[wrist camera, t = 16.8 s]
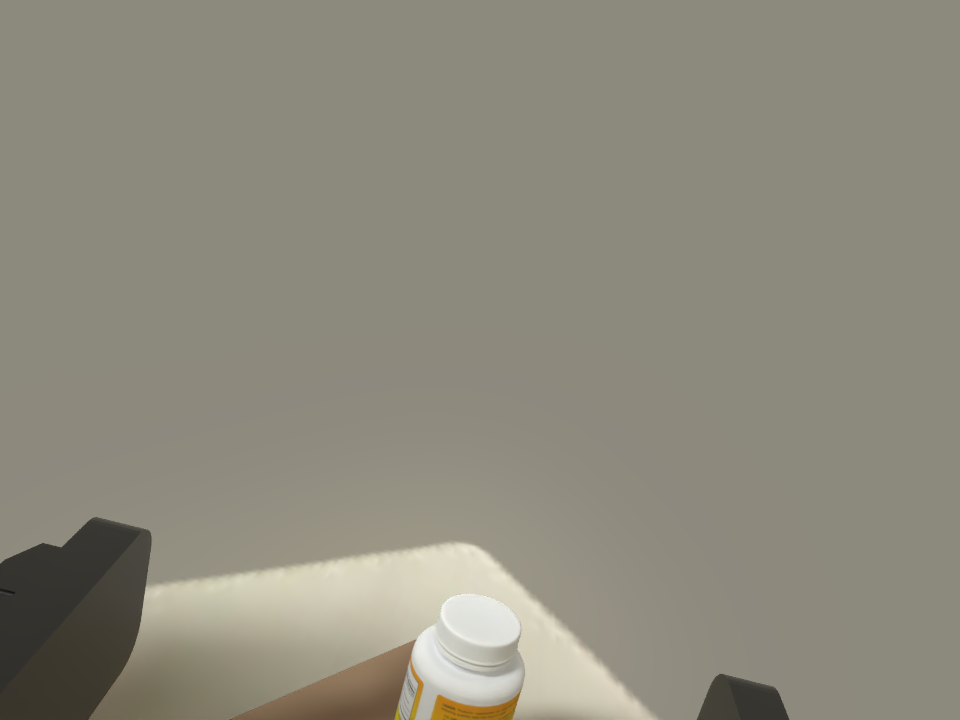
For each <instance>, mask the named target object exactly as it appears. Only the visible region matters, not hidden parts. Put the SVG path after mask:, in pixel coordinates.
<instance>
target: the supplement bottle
mask: <svg viewBox="0 0 960 720" xmlns="http://www.w3.org/2000/svg"><path fill="white" fill-rule="evenodd" d="M520 635H521V623H520V621H519V619H518V617H517V616H516V614H515V613H514V612H513V611H512V610H511V609H510V608H508V607H507V606H506V605H504V604H503V603H501V602H499V601H497V600H495V599H493V598H490V597H487V596H483V595H478V594H460V595H456V596H453V597H451V598H449V599H448V600H447V601H446V602H445V603H444V604H443V606H442V608H441V611H440V614H439V617H438V620H437V622H436V624H435V625H432V626H430V627H429V628H427V629H426V630H425V631H423V632H422V633H421V634H420V635H419V637H418V638H417V640H416V642H415V644H414V647H413V650H412V653H411V658H410V661H409V665H408V668H407V673H406V677H405V681H404V684H403V688H402V692H401V696H400V700H399V704H398V708H397V712H396V716H395V720H512V718H513V715H514V712H515V708H516V705H517V702H518V699H519V695H520V692H521V689H522V686H523V682H524V677H525V667H524V663H523V659H522V657H521V655H520V653H519V652H518V650H517V648H518V642H519V638H520Z"/></svg>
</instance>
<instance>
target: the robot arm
mask: <svg viewBox="0 0 960 720" xmlns="http://www.w3.org/2000/svg"><path fill="white" fill-rule="evenodd" d="M150 551H151V533H150V531H149V530H146V529H142V528H138V527H134V526H130V525H126V524H122V523H118V522H114V521H110V520H106V519H101V518H98V517H95V518H92V519H91V520H89V521H88V522H87V523H86V524H85V525H84V526H83V527H82V528H81V529H80V530H79V531H78V532H77V533H76V534H75V535H74V536H73V537H72V538H71V539H70V540H69V541H68V542H67V543H66V544H65V545H64V546H63V547H62V548H61V547H57V546H52V545H49V544H44V543H42V544H40V545H38V546H35V547H33V548H31V549H28V550H26V551H24V552H21V553H19V554H17V555H15V556H12V557H10V558H8V559H5V560H4V561H3V562H2V563H1V564H0V720H88V719H89V717H90V716H91V714H92V713H93V712H94V710H95V709H96V707H97V706H98V704H99V703H100V702H101V700H102V699H103V697H104V696H105V695H106V693H107V692H108V690H109V689H110V687H111V686H112V685H113V683H114V682H115V680H116V679H117V677H118V676H119V675H120V673H121V672H122V670H123V669H124V667H125V665H126V663H127V661H128V659H129V657H130V655H131V652H132V650H133V647H134V645H135V642H136V639H137V635H138V632H139V627H140V622H141V615H142V608H143V601H144V594H145V587H146V579H147V572H148V565H149V557H150ZM697 720H789V718H788V715H787V713H786V710H785V708H784V705H783V703H782V700H781V697H780V695H779V693H778V691H777V690H776V689H775V688H774V687H772V686H768V685H764V684H760V683H756V682H752V681H748V680H744V679H740V678H736V677H732V676H728V675H724V674H719V675H718V676H716V677H715V679H714V680H713V682H712V684H711V686H710V688H709V690H708V693H707V695H706V698H705V701H704V703H703V706H702V708H701V711H700V713H699V716H698V718H697Z"/></svg>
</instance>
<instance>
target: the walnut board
mask: <svg viewBox="0 0 960 720" xmlns="http://www.w3.org/2000/svg"><path fill="white" fill-rule="evenodd" d="M416 640H417V639H416ZM416 640H414V641H411V642H409V643H407V644H404V645H402V646H400V647H397V648H395V649H393V650H390V651H388V652H386V653H384V654H381V655H379V656H377V657H374V658H372V659H370V660H367V661H365V662H363V663H360V664H358V665H356V666H353V667H351V668H349V669H346V670H344V671H342V672H339V673H337V674H335V675H332V676H330V677H328V678H325V679H323V680H321V681H318V682H316V683H314V684H311V685H309V686H307V687H304V688H302V689H300V690H297V691H295V692H293V693H290V694H288V695H286V696H284V697H281V698H279V699H277V700H274V701H272V702H270V703H267V704H265V705H263V706H260V707H258V708H256V709H253V710H251V711H249V712H246V713H244V714H242V715H239V716H237V717H235V718H232V719H230V720H395V716H396V712H397V708H398V704H399V700H400V696H401V692H402V688H403V684H404V681H405V677H406V673H407V668H408V665H409V661H410V658H411V653H412V650H413V647H414V644H415V642H416Z"/></svg>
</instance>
